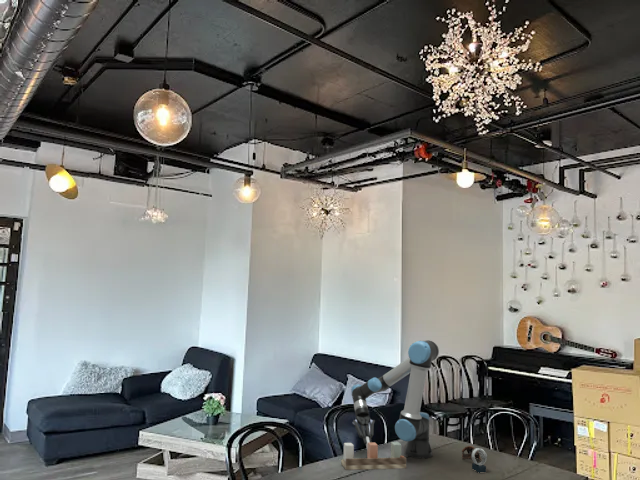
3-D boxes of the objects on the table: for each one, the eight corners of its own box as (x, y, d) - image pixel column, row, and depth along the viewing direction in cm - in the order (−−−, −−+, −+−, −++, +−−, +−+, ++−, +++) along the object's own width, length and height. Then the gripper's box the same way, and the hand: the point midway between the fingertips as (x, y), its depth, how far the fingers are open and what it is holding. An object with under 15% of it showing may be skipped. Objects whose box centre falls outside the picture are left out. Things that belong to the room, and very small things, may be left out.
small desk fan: (489, 472, 241) (488, 449, 243) (476, 473, 239) (476, 450, 240) (482, 468, 246) (481, 446, 248) (469, 469, 244) (469, 447, 245)
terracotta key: (374, 458, 249) (374, 442, 251) (377, 461, 245) (377, 445, 246) (367, 458, 249) (367, 442, 250) (370, 461, 244) (370, 445, 245)
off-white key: (350, 458, 247) (351, 442, 248) (353, 461, 242) (353, 445, 243) (343, 458, 246) (343, 442, 247) (345, 462, 241) (346, 445, 243)
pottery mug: (484, 464, 255) (478, 451, 255) (468, 470, 256) (461, 457, 256) (478, 451, 267) (472, 439, 267) (462, 458, 268) (456, 445, 268)
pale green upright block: (397, 457, 252) (398, 442, 253) (401, 460, 247) (401, 444, 248) (390, 457, 251) (391, 442, 252) (393, 460, 246) (394, 444, 247)
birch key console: (399, 461, 252) (399, 450, 253) (406, 468, 242) (406, 456, 243) (341, 463, 246) (341, 451, 247) (346, 470, 236) (346, 457, 237)
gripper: (370, 413, 274) (379, 452, 256) (349, 414, 272) (355, 453, 253) (373, 406, 270) (382, 445, 251) (351, 406, 268) (358, 445, 249)
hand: (369, 449), depth 252 cm, fingers closed
